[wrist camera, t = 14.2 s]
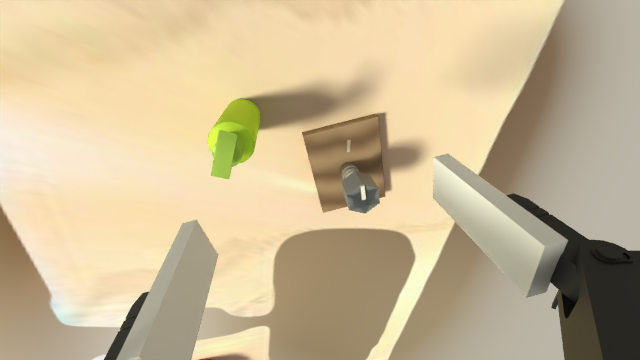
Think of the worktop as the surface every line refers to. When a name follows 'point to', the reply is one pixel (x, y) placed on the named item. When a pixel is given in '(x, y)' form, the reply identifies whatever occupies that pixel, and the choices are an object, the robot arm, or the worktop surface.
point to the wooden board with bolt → (344, 157)
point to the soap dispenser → (233, 136)
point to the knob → (360, 192)
